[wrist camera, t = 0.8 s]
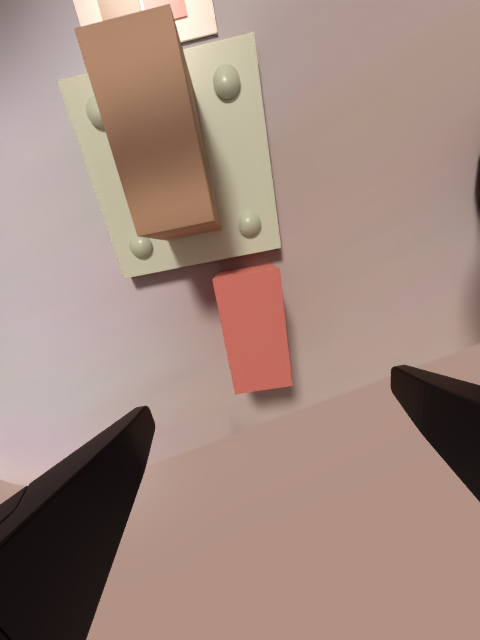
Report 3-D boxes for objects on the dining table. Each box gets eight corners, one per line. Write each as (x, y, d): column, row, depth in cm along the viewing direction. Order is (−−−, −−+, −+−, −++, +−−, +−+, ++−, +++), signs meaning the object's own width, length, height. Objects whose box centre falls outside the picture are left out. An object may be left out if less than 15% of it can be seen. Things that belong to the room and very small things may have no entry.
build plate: (252, 47, 14) (253, 28, 13) (278, 248, 17) (281, 247, 16) (69, 92, 14) (54, 78, 13) (130, 276, 18) (122, 278, 17)
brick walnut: (131, 105, 14) (74, 28, 9) (194, 91, 14) (169, 3, 9) (167, 240, 16) (137, 236, 11) (221, 229, 16) (214, 220, 11)
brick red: (219, 272, 18) (212, 279, 13) (268, 263, 18) (279, 268, 13) (236, 360, 20) (235, 394, 15) (279, 353, 20) (292, 385, 15)
